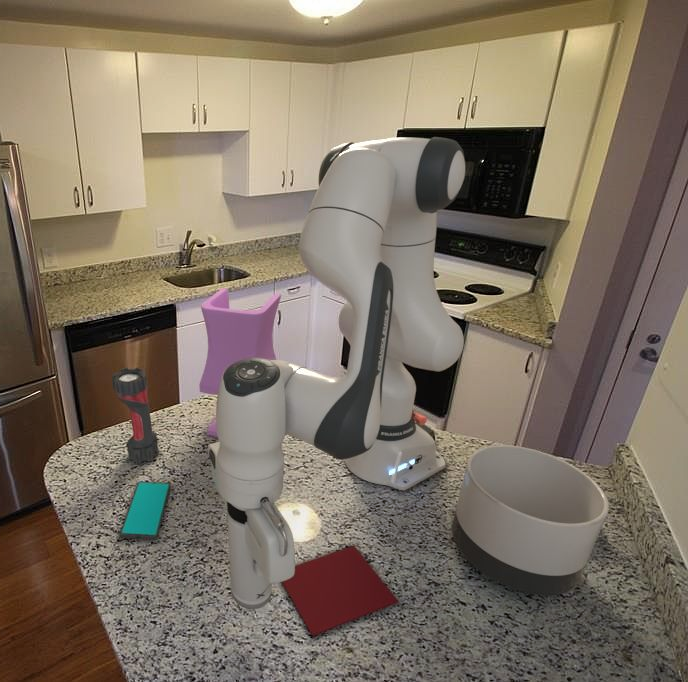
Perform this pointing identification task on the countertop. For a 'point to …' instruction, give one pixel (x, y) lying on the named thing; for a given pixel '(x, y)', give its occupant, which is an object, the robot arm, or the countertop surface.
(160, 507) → the smartphone
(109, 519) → the countertop surface
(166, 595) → the countertop surface
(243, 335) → the vase
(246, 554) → the travel mug
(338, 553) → the napkin
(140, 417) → the flashlight
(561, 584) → the planter
